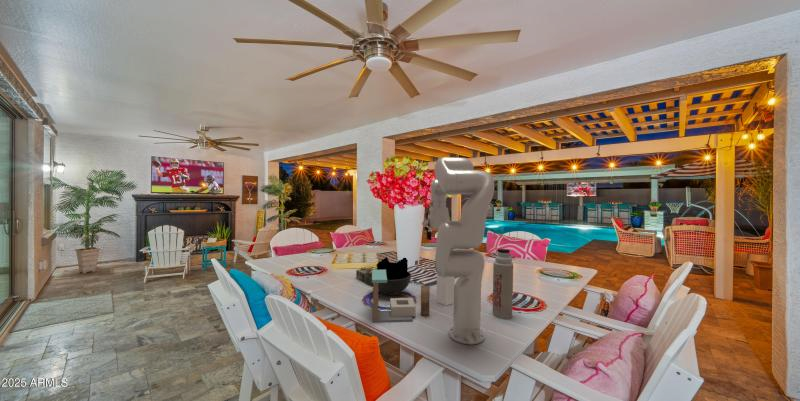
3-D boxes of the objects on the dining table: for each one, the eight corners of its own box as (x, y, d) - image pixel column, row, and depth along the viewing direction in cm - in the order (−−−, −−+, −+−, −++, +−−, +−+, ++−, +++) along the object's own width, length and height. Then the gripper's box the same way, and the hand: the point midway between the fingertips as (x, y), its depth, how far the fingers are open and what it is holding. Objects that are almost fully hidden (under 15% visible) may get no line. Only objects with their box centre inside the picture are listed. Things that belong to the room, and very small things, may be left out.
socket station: (416, 321, 118) (416, 279, 117) (371, 322, 117) (371, 280, 116) (411, 305, 134) (412, 268, 133) (372, 306, 133) (372, 269, 132)
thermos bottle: (501, 319, 120) (502, 252, 119) (488, 312, 127) (489, 248, 126) (516, 317, 123) (517, 250, 122) (503, 309, 130) (504, 247, 129)
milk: (445, 306, 134) (446, 258, 133) (436, 301, 139) (436, 255, 138) (454, 302, 138) (455, 256, 137) (445, 299, 143) (446, 254, 142)
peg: (430, 316, 123) (430, 288, 122) (421, 316, 122) (421, 288, 122) (428, 312, 126) (428, 285, 126) (420, 313, 126) (420, 285, 126)
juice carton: (354, 278, 175) (354, 268, 175) (368, 275, 181) (368, 266, 181) (372, 288, 159) (372, 276, 159) (386, 284, 165) (387, 274, 165)
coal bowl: (363, 296, 145) (364, 259, 144) (383, 285, 163) (383, 251, 162) (400, 304, 136) (400, 263, 135) (416, 290, 154) (417, 255, 153)
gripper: (425, 205, 138) (425, 241, 139) (457, 205, 144) (457, 239, 145) (419, 204, 145) (419, 238, 146) (449, 204, 151) (449, 237, 152)
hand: (438, 239), depth 145 cm, fingers open, 9 cm apart
